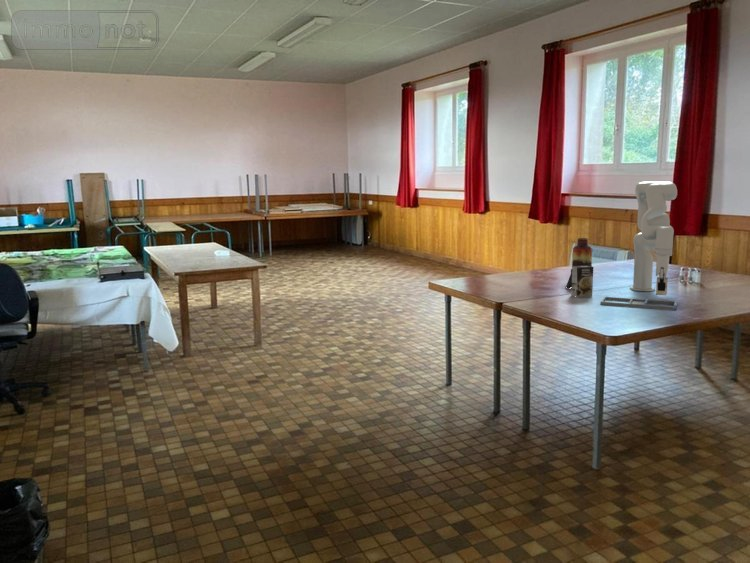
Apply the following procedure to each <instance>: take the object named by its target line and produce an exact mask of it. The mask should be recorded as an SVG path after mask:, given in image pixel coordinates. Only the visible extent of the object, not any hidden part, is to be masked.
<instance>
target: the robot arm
mask: <svg viewBox="0 0 750 563" xmlns="http://www.w3.org/2000/svg"><path fill="white" fill-rule="evenodd" d="M634 188H635V190H634V192H635V198H636V200H637V204H638V205H637V206H638V207H637V227H638V229H639V230H640V232H639V233H636V234H635V235H634V236H633V239H632V240H633V250H634V260H633V277H632V278H633V279H632V280H633V283H632V285H631V286H629V290H632V291H637V292H652V291H653V292H654V291H656V287H654V286H653V271H654V270H653V268H654V257H653V255H652V254H651V253H650V251H654V256H656V265H655V266H656V267H655V276H656V277H659V281H658V291H665V277H667V276H668V273H669V269H670V268H669V267H670V257H672V256H673V249H674V248H673V246H674V236H675V235H674V233H675V230H674V227H673V226H672V225H670V223H671V220H670V215H669V214H668V213H666V212H667V208H668V206H667V201H673V200H675V199H676V198H678V197H677V196H678V189H677V185H676V184H675V183H674V182H672V181H669V180H668V181H666V180H665V181H661V180H660V181H658V180H657V181H641V182H638V183H637V184H636V185H635V187H634Z"/></svg>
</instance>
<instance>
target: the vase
mask: <svg viewBox="0 0 750 563" xmlns="http://www.w3.org/2000/svg"><path fill="white" fill-rule="evenodd" d="M576 241H577V242H576V245H575V246H573V247H572V256H571V259H572V261H571V267H572V266H592V264H593V263H592V262H593V248H592V247H591V245H589V238H587V237H578V238H577V240H576ZM592 267H593V266H592Z"/></svg>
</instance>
